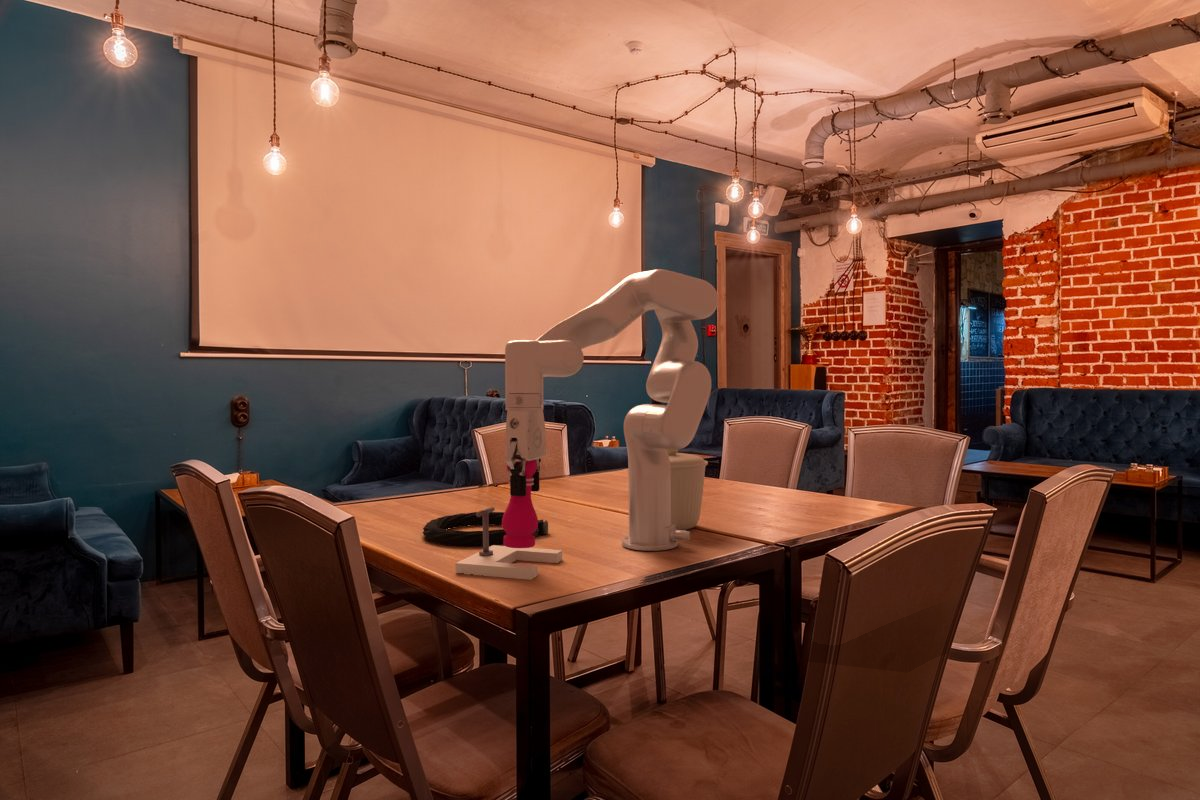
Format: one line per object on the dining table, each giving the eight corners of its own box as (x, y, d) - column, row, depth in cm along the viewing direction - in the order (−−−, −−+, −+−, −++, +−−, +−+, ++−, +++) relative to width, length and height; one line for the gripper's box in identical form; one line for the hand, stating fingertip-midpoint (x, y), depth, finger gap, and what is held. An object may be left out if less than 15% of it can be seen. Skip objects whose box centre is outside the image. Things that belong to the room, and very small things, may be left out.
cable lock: (437, 510, 198) (552, 509, 197) (437, 525, 198) (552, 524, 197) (408, 532, 170) (542, 531, 170) (408, 549, 171) (542, 548, 170)
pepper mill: (497, 542, 154) (501, 443, 154) (532, 541, 156) (536, 444, 156) (504, 549, 147) (508, 446, 147) (540, 548, 149) (544, 446, 149)
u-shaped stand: (562, 559, 158) (561, 505, 158) (530, 579, 143) (530, 520, 143) (493, 554, 163) (492, 502, 163) (455, 573, 148) (454, 515, 148)
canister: (674, 517, 203) (673, 438, 202) (723, 528, 189) (723, 443, 188) (621, 525, 192) (620, 442, 192) (668, 538, 178) (668, 448, 177)
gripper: (523, 404, 142) (524, 501, 142) (558, 401, 158) (558, 488, 158) (487, 404, 144) (488, 499, 145) (525, 401, 160) (525, 486, 161)
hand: (525, 492), depth 151 cm, fingers closed on pepper mill, 5 cm apart
